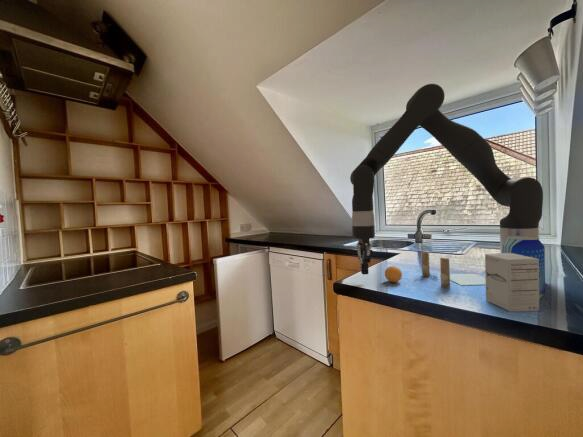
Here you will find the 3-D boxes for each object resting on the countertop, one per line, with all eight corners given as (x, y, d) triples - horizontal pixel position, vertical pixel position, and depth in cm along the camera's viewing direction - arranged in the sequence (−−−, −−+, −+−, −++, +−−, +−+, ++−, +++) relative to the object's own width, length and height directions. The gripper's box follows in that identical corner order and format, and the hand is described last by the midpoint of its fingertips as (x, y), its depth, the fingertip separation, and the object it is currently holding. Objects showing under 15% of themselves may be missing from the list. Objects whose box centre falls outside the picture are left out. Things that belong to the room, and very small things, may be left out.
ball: (398, 279, 86) (397, 264, 86) (404, 284, 81) (404, 267, 80) (382, 280, 86) (382, 264, 86) (388, 284, 81) (387, 268, 81)
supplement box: (484, 300, 64) (483, 253, 64) (513, 299, 64) (512, 252, 63) (508, 312, 57) (507, 259, 56) (541, 311, 57) (540, 257, 56)
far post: (427, 274, 90) (426, 250, 90) (430, 276, 88) (430, 252, 87) (421, 274, 90) (420, 251, 90) (424, 276, 88) (423, 252, 87)
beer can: (526, 289, 71) (525, 235, 70) (555, 299, 62) (554, 238, 62) (495, 289, 71) (494, 236, 71) (519, 300, 63) (518, 239, 63)
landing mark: (474, 274, 88) (474, 273, 88) (500, 284, 76) (500, 283, 76) (440, 275, 88) (440, 274, 88) (461, 285, 76) (461, 284, 76)
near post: (447, 285, 78) (446, 257, 77) (451, 287, 75) (450, 258, 75) (439, 285, 78) (438, 257, 77) (443, 287, 75) (442, 259, 75)
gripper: (380, 225, 77) (381, 279, 77) (369, 222, 90) (370, 268, 90) (356, 226, 77) (358, 279, 78) (348, 223, 90) (350, 269, 91)
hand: (364, 273), depth 84 cm, fingers closed
